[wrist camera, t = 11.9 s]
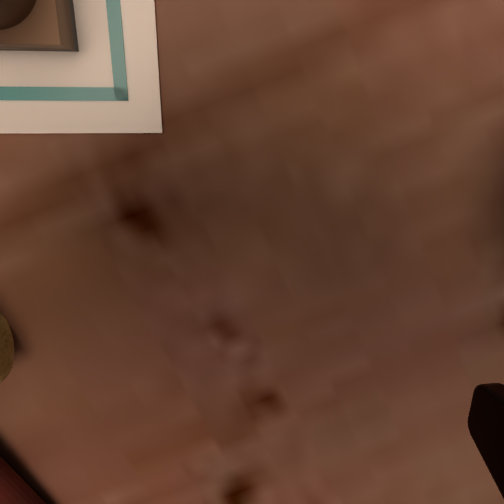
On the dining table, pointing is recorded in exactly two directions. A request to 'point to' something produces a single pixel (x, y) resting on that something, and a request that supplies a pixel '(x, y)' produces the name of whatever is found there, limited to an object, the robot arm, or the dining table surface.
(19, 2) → the stamp
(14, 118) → the print card
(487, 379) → the dining table surface
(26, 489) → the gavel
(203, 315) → the dining table surface
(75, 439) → the dining table surface
